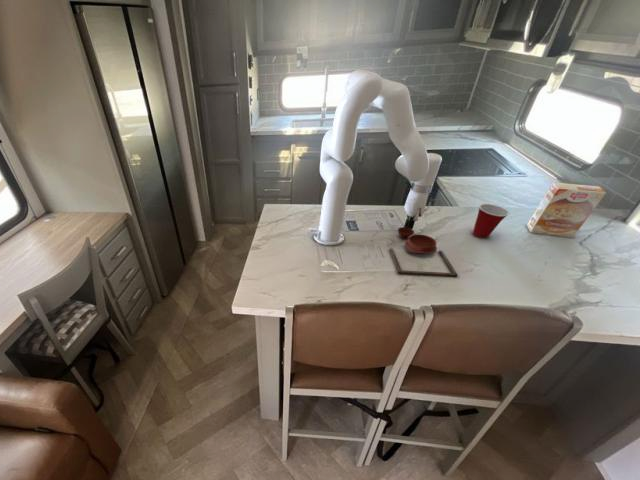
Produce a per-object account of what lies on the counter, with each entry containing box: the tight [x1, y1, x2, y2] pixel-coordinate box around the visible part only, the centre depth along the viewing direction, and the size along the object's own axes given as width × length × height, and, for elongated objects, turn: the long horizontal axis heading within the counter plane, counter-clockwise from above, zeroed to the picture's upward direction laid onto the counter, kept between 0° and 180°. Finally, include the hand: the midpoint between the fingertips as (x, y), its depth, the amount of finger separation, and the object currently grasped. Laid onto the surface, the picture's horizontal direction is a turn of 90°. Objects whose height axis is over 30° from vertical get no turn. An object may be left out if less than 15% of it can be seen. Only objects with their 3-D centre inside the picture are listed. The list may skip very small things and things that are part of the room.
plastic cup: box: [472, 203, 510, 239], centre depth 132 cm, size 11×11×12 cm
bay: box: [389, 247, 458, 278], centre depth 122 cm, size 20×16×1 cm
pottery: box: [397, 226, 438, 255], centre depth 131 cm, size 12×20×4 cm, turn 10°
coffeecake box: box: [526, 181, 607, 238], centre depth 130 cm, size 15×7×20 cm, turn 68°
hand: (408, 228), depth 139 cm, fingers closed
